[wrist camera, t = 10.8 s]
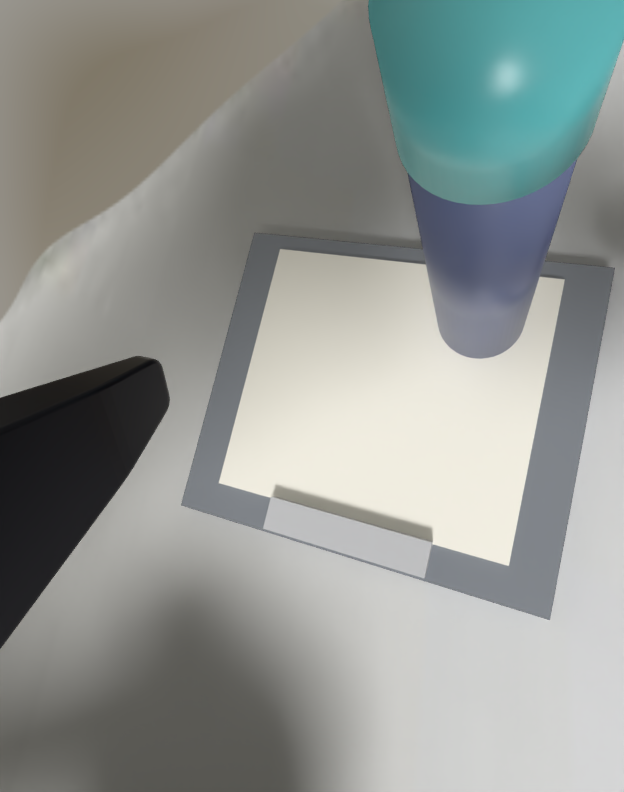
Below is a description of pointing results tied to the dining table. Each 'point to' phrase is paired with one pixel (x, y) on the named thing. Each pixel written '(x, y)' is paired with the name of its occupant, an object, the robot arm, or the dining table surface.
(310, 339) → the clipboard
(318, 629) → the dining table surface
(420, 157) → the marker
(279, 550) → the dining table surface
